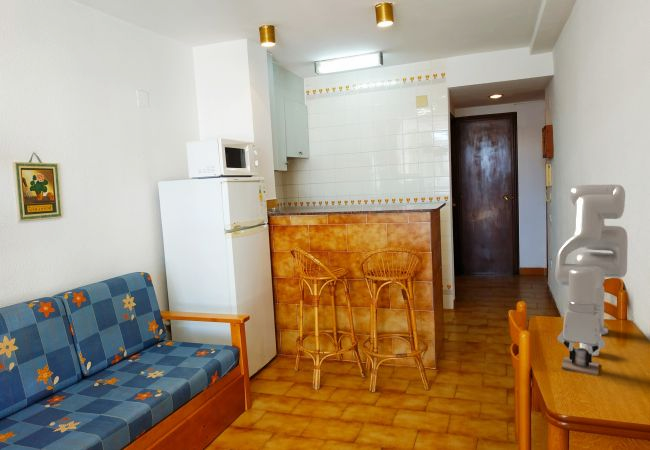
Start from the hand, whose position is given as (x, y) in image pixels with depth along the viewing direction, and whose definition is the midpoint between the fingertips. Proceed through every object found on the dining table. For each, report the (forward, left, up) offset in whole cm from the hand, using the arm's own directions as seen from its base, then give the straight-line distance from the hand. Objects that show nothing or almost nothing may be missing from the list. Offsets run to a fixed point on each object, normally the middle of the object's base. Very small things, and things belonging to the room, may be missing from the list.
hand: (580, 362), depth 147 cm
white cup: (-15, +2, -2) cm, 15 cm away
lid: (0, 0, -1) cm, 1 cm away
